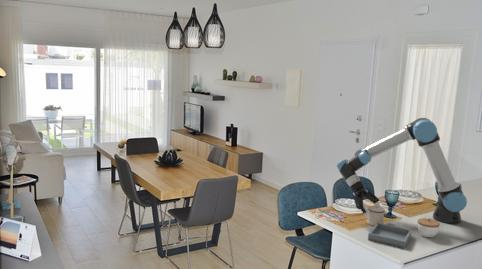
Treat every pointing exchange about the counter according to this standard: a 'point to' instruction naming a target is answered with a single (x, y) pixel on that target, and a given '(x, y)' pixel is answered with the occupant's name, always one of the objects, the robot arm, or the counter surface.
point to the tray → (390, 235)
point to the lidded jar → (428, 227)
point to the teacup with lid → (376, 215)
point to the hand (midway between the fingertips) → (375, 215)
